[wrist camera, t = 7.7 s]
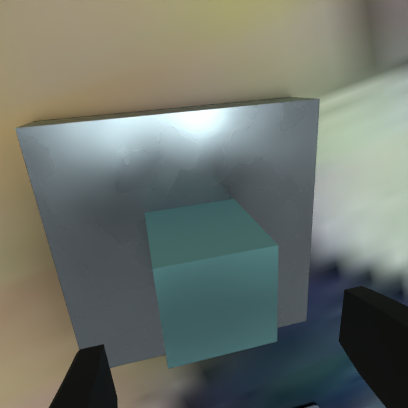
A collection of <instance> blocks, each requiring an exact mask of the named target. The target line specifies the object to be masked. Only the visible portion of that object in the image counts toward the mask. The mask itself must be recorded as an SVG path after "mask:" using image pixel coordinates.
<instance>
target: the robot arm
mask: <svg viewBox="0 0 408 408" xmlns="http://www.w3.org/2000/svg"><path fill="white" fill-rule="evenodd" d="M339 342H340V344H341V346H342V347H343V349H344V350H345V352H346V354H347V355H348V357H349V359H350V360H351V362H352V363H353V365H354V366H355V368H356V369H357V371H358V372H359V374H360V375H361V376H362V378H363V379H364V380H365V382H366V383H367V384H368V385H369V387H370V388H371V389H372V390H373V392H374V393H375V394H376V396H377V397H378V398H379V399H380V401H381V402H382V403H383V404H384V405H385V407H386V408H408V306H406V305H403V304H401V303H399V302H397V301H395V300H393V299H391V298H388V297H386V296H384V295H382V294H380V293H377V292H375V291H373V290H371V289H368V288H366V287H363V286H360V287H355V288H351V289H346V290H344V299H343V308H342V317H341V326H340V335H339ZM49 408H118V407H117V395H116V391H115V387H114V383H113V379H112V375H111V371H110V367H109V363H108V359H107V355H106V351H105V347H104V344H102V345H97V346H93V347H88V348H84V349H80V350H79V351H78V352H77V354H76V356H75V358H74V360H73V362H72V364H71V366H70V368H69V370H68V372H67V374H66V376H65V378H64V380H63V382H62V384H61V386H60V388H59V390H58V392H57V393H56V395H55V397H54V399H53V401H52V403H51V405H50V406H49ZM306 408H319V406H317V405H313V406H309V407H306Z"/></svg>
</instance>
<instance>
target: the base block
mask: <svg viewBox="0 0 408 408" xmlns="http://www.w3.org/2000/svg"><path fill="white" fill-rule="evenodd" d="M319 100H320V99H313V98H297V97H288V98H277V99H266V100H256V101H245V102H234V103H224V104H213V105H202V106H192V107H181V108H170V109H160V110H149V111H138V112H128V113H117V114H106V115H95V116H85V117H74V118H63V119H53V120H42V121H34V122H31V123H28V124H25V125H23V126H20V127H17V128H15V129H16V133H17V136H18V140H19V143H20V147H21V150H22V153H23V157H24V160H25V164H26V167H27V171H28V174H29V178H30V181H31V184H32V188H33V191H34V195H35V198H36V202H37V205H38V209H39V212H40V215H41V219H42V222H43V226H44V229H45V233H46V236H47V239H48V243H49V246H50V250H51V253H52V257H53V260H54V264H55V267H56V270H57V274H58V277H59V281H60V284H61V288H62V291H63V294H64V298H65V301H66V305H67V308H68V312H69V315H70V319H71V322H72V325H73V329H74V332H75V336H76V339H77V343H78V346H79V350H80V349H84V348H88V347H93V346H97V345H102V344H104V347H105V351H106V355H107V359H108V363H109V367H110V368H112V367H116V366H120V365H124V364H128V363H132V362H137V361H141V360H145V359H149V358H153V357H158V356H162V355H166V351H165V344H164V338H163V332H162V326H161V319H160V313H159V307H158V301H157V294H156V288H155V282H154V276H153V269H152V262H151V255H150V248H149V241H148V234H147V227H146V219H145V213H146V212H153V211H159V210H166V209H172V208H179V207H185V206H191V205H198V204H204V203H211V202H217V201H223V200H230V199H235V200H236V201H237V202H238V204H239V205H240V206H241V207H242V208H243V209H244V210H245V211H246V212H247V213H248V214H249V215H250V216H251V217H252V218H253V219H254V220H255V221H256V222H257V223H258V224H259V225H260V227H261V228H262V229H263V230H264V231H265V232H266V233H267V234H268V235H269V236H270V237H271V238H272V239H273V240H274V241H275V242H276V243H277V244H278V308H277V328H278V327H283V326H287V325H291V324H295V323H299V322H303V321H306V316H307V300H308V283H309V267H310V250H311V233H312V217H313V200H314V183H315V167H316V150H317V134H318V117H319Z"/></svg>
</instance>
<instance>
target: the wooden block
mask: <svg viewBox="0 0 408 408" xmlns="http://www.w3.org/2000/svg"><path fill="white" fill-rule="evenodd" d="M145 219H146V227H147V234H148V241H149V248H150V255H151V262H152V269H153V276H154V282H155V288H156V294H157V301H158V307H159V313H160V319H161V326H162V332H163V338H164V344H165V351H166V357H167V363H168V369H169V368H173V367H177V366H181V365H185V364H189V363H193V362H197V361H201V360H205V359H209V358H213V357H217V356H221V355H225V354H229V353H233V352H237V351H241V350H245V349H249V348H253V347H257V346H261V345H265V344H269V343H273V342H277V308H278V244H277V243H276V242H275V241H274V240H273V239H272V238H271V237H270V236H269V235H268V234H267V233H266V232H265V231H264V230H263V229H262V228H261V227H260V225H259V224H258V223H257V222H256V221H255V220H254V219H253V218H252V217H251V216H250V215H249V214H248V213H247V212H246V211H245V210H244V209H243V208H242V207H241V206H240V205H239V204H238V202H237V201H236V200H235V199H230V200H223V201H217V202H211V203H204V204H198V205H191V206H185V207H179V208H172V209H166V210H159V211H153V212H146V213H145Z"/></svg>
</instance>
